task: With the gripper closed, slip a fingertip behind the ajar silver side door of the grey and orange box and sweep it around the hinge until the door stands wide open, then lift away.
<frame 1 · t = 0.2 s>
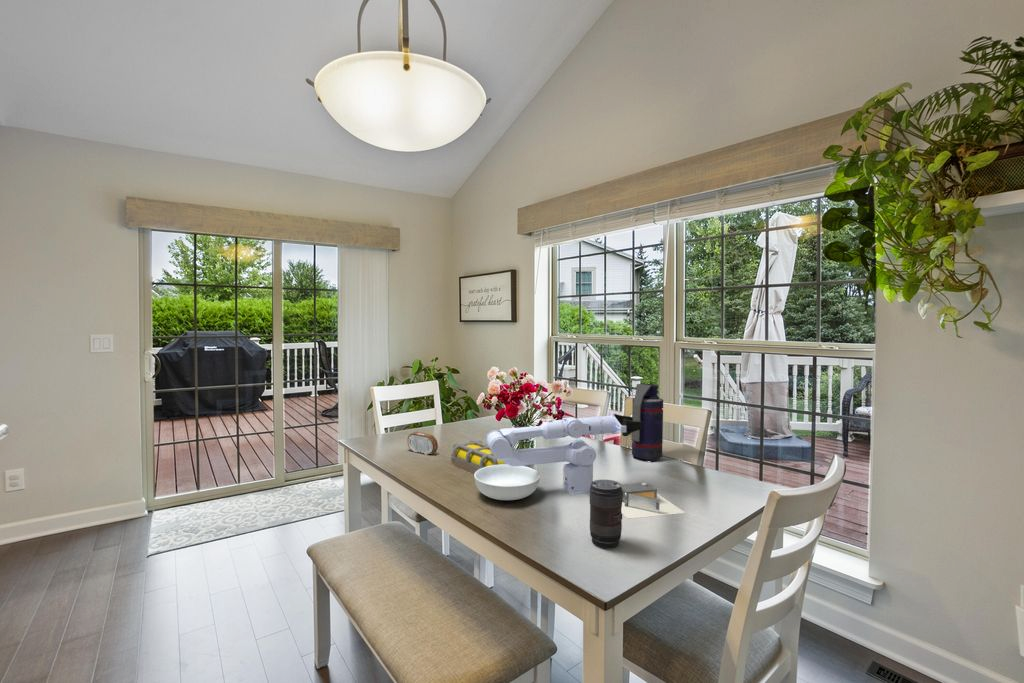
hand: (637, 422, 160), 21 cm above the table, tool horizontal, fingers open, 7 cm apart
grenade: (645, 458, 193), on the table
cage light: (482, 469, 180), on the table
grey and orange box: (637, 499, 148), resting on mat
door: (641, 502, 141), point 2 cm above the table, hinge at 45.0°
serving bowl: (507, 495, 153), on the table
camera lens: (605, 543, 121), on the table
tin: (422, 453, 200), on the table
mat: (643, 505, 144), on the table
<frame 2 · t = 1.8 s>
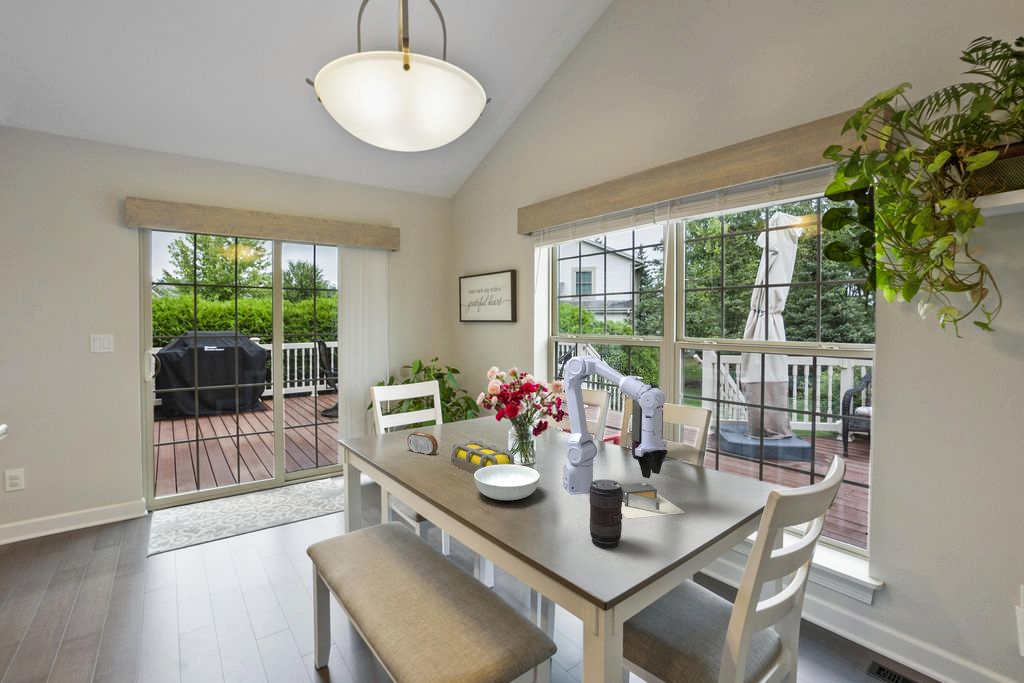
hand: (651, 475, 142), 10 cm above the table, tool pointing down, fingers open, 5 cm apart
nothing on the table moved.
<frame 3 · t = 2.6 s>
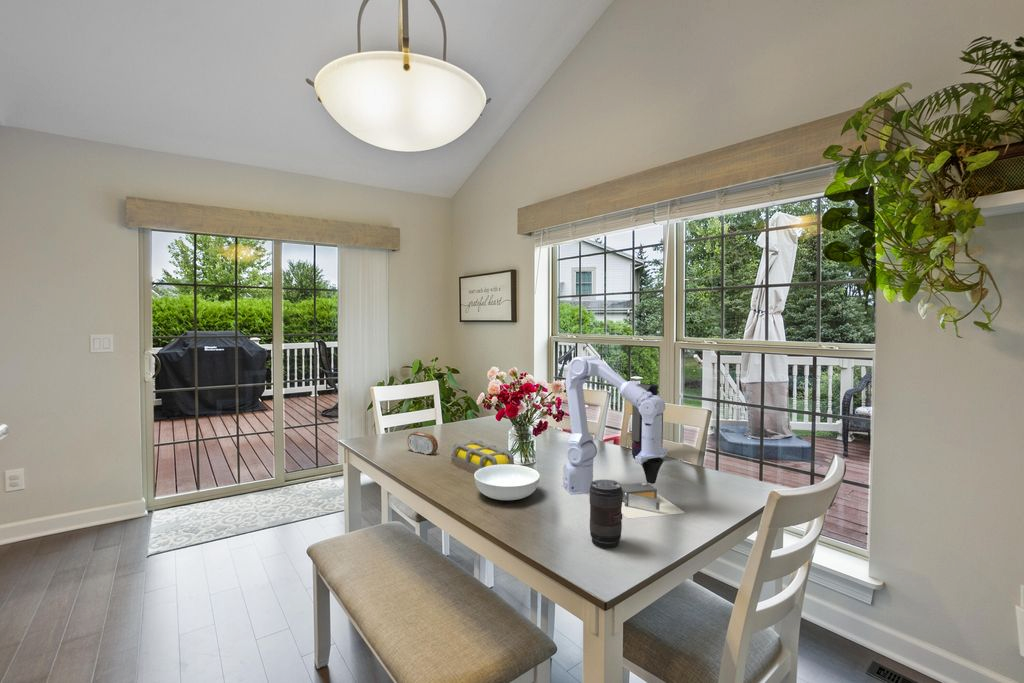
hand: (651, 482, 142), 8 cm above the table, tool pointing down, fingers closed
nothing on the table moved.
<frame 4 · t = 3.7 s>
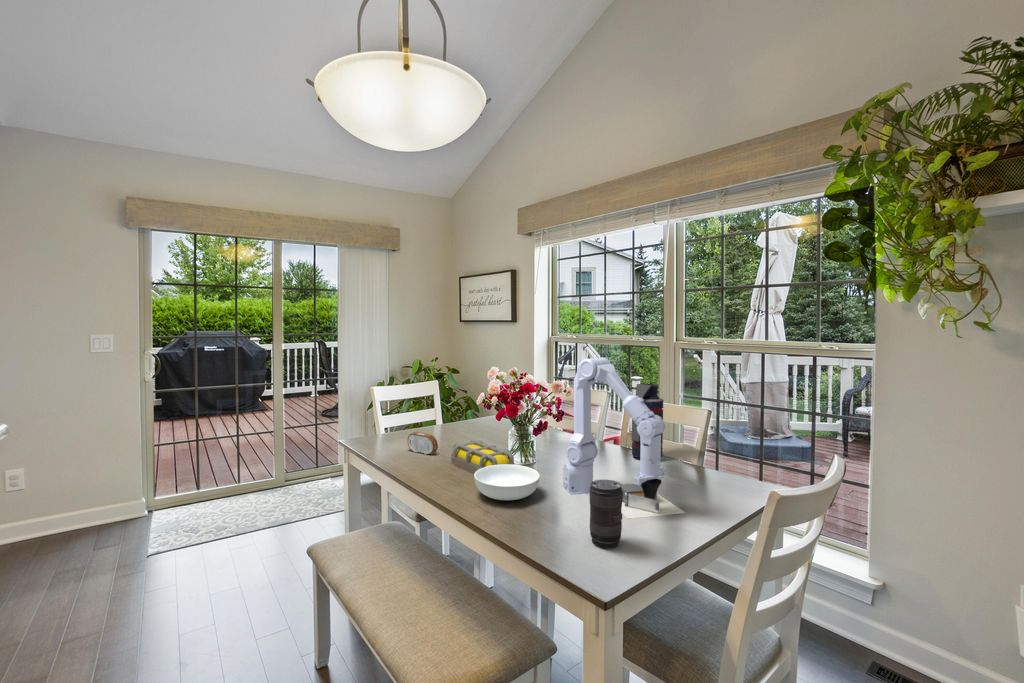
hand: (649, 503, 140), 2 cm above the table, tool pointing down, fingers closed
door: (641, 502, 140), point 2 cm above the table, hinge at 48.0°, touching gripper
everything else where it was.
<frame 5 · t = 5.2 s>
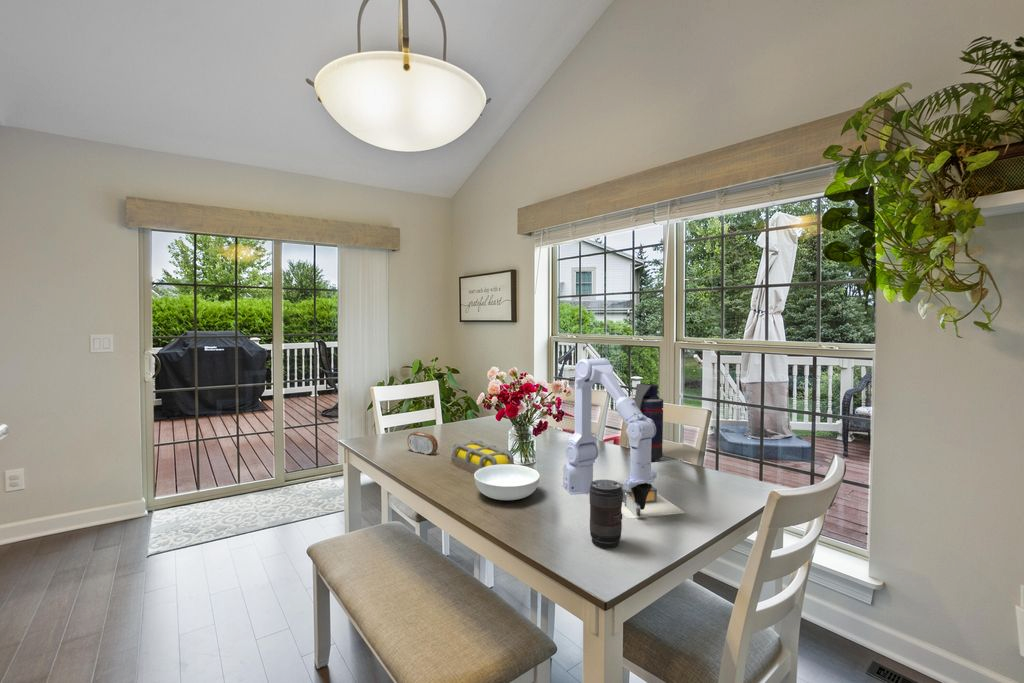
hand: (639, 508, 137), 2 cm above the table, tool pointing down, fingers closed, pressing on door
door: (632, 505, 139), point 2 cm above the table, hinge at 96.2°, touching gripper
everything else where it was.
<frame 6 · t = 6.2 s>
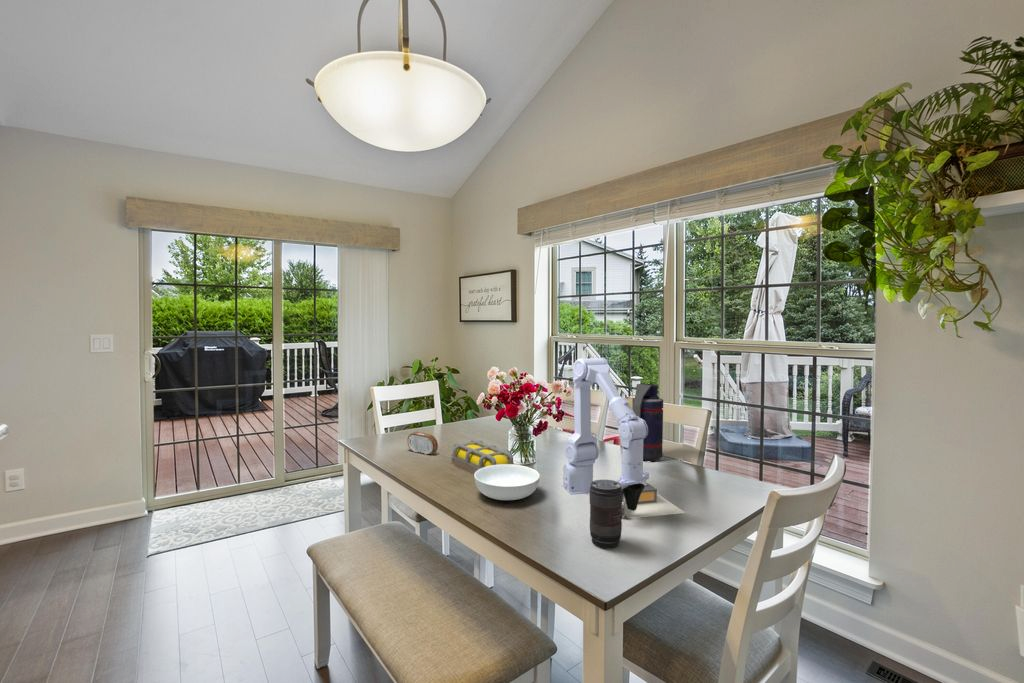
hand: (631, 509, 136), 2 cm above the table, tool pointing down, fingers closed
door: (624, 505, 139), point 2 cm above the table, hinge at 122.5°, touching gripper
everything else where it was.
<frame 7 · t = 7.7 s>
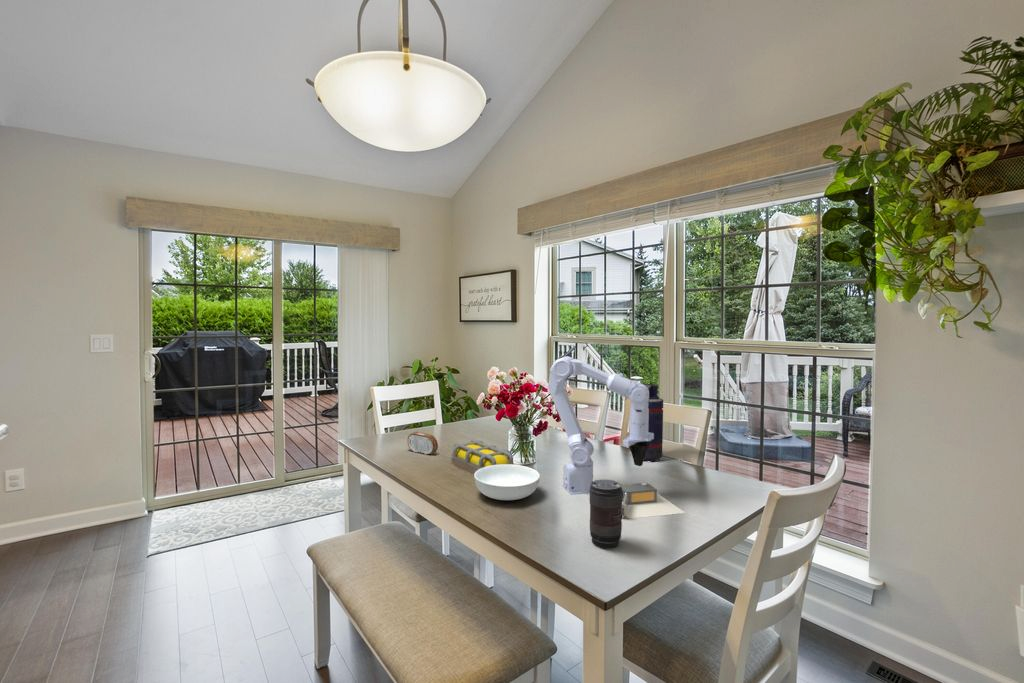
hand: (638, 465, 152), 10 cm above the table, tool pointing down, fingers closed
door: (624, 505, 139), point 2 cm above the table, hinge at 122.6°
everything else where it was.
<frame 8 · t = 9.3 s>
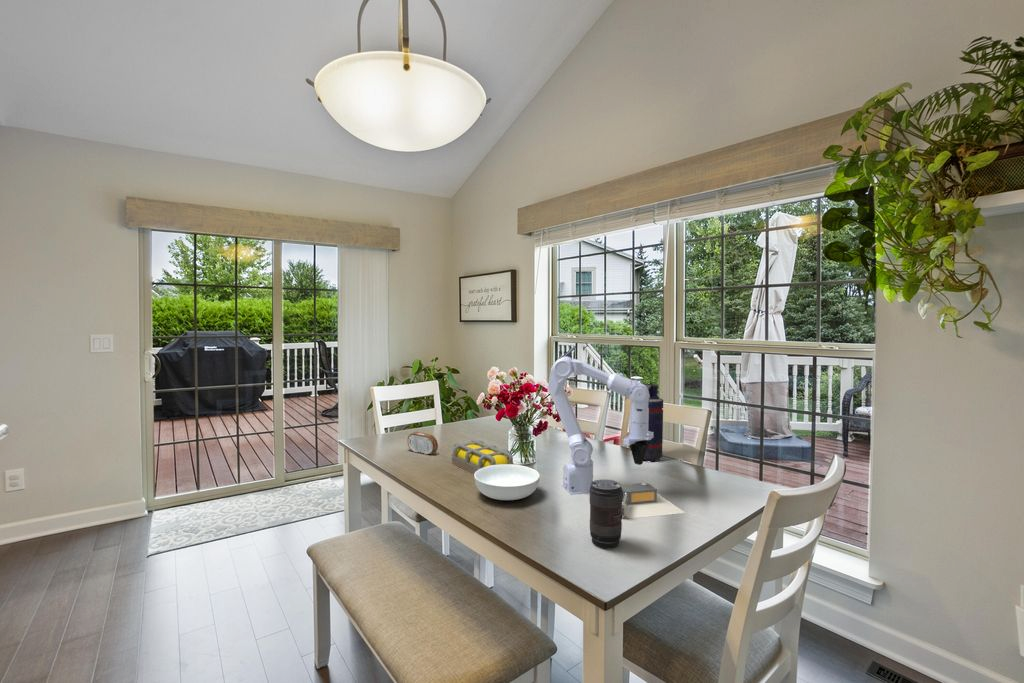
hand: (638, 463, 153), 10 cm above the table, tool pointing down, fingers closed
nothing on the table moved.
at the end: door at +123° (first picture: +45°) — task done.
